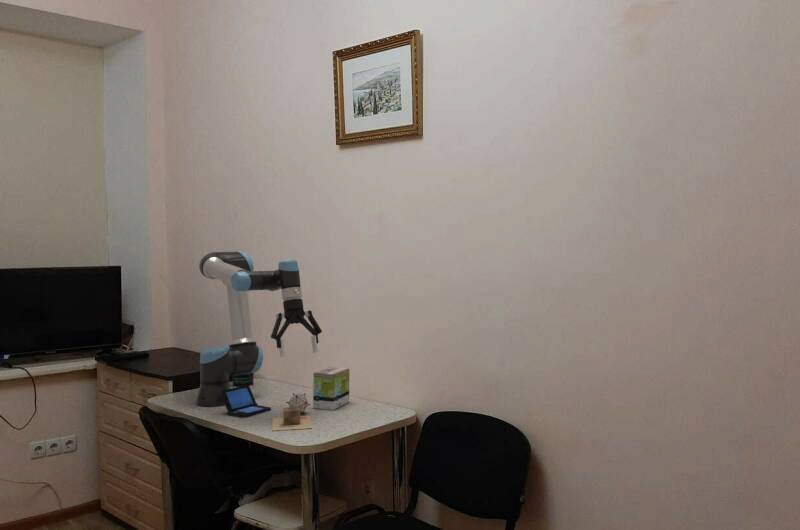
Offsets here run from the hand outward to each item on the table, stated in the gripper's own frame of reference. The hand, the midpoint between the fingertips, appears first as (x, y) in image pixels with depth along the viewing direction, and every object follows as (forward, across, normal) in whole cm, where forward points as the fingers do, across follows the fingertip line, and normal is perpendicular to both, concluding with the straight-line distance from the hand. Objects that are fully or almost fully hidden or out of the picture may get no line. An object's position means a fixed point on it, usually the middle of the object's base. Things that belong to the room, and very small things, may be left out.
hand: (299, 354), depth 250 cm
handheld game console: (+19, -14, +26) cm, 35 cm away
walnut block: (+24, -7, -1) cm, 25 cm away
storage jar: (+8, +4, +78) cm, 78 cm away
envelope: (+25, -7, 0) cm, 26 cm away
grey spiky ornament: (+22, +2, +12) cm, 26 cm away
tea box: (+22, +19, +17) cm, 34 cm away
